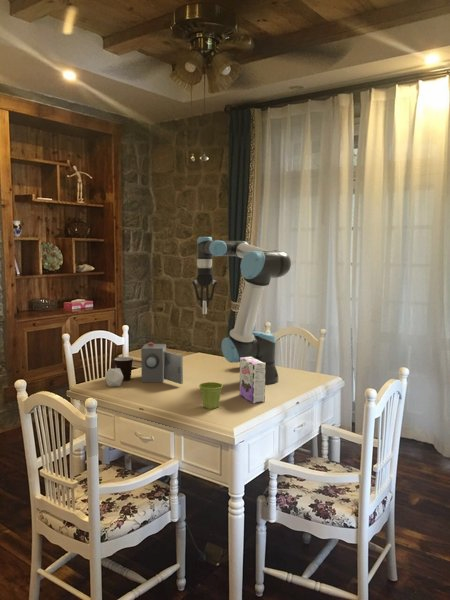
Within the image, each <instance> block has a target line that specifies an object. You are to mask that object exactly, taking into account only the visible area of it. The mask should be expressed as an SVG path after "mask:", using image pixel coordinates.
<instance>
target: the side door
mask: <svg viewBox="0 0 450 600" xmlns="http://www.w3.org/2000/svg"><path fill="white" fill-rule="evenodd" d="M183 357H184V356H183V355H182V354H178V353H174V352H170V351H167V350H166V351H164V352H163V359H164V380H167V381H168V382H169V381H170V382H173V383H176V384H179V385H183V383H184V377H183V376H184V375H183V373H184V371H183V370H184V369H183V367H184V366H183V363H184V361H183V359H184V358H183Z"/></svg>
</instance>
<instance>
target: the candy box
mask: <svg viewBox="0 0 450 600" xmlns="http://www.w3.org/2000/svg"><path fill="white" fill-rule="evenodd" d="M265 367H266V363H263V362H261V361H259V360H257V359H255V358H253V357H241V358H240V362H239V396H240V397H242V398H244V399H245V400H247V401H248V402H250V403H251V404H260V403H262V402H263V403H266V402H265V400H266V384H265Z"/></svg>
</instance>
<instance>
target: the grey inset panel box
mask: <svg viewBox="0 0 450 600" xmlns="http://www.w3.org/2000/svg"><path fill="white" fill-rule="evenodd" d="M164 351H166V352H167V344H166V343H154V342H151V341H150V342H148V343H144V345H143V346H142V347H141V349H140V355H141V356H140V357H141V368H140V369H141V383H163V382H164V381H165V379H164V359H163V352H164Z"/></svg>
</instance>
